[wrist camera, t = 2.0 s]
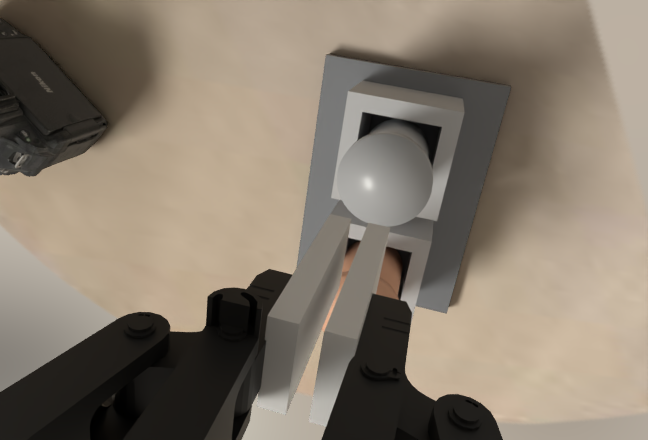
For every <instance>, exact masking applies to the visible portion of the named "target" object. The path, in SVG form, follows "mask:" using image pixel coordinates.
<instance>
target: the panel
mask: <svg viewBox="0 0 648 440" xmlns="http://www.w3.org/2000/svg"><path fill="white" fill-rule="evenodd" d="M510 90H511V86H509V85H504V84H498V83H492V82H486V81H481V80H475V79H469V78H463V77H458V76H452V75H446V74H441V73H435V72H429V71H423V70H418V69H412V68H406V67H400V66H395V65H389V64H383V63H377V62H372V61H366V60H360V59H354V58H349V57H343V56H337V55H332V54H327V55H326V58H325V65H324V73H323V80H322V87H321V95H320V102H319V109H318V116H317V124H316V131H315V138H314V145H313V153H312V160H311V167H310V174H309V182H308V189H307V196H306V204H305V211H304V218H303V225H302V233H301V240H300V247H299V254H298V262H297V267H298V265H299V264H300V262H301V260H302V259H303V257H304V256H305V254H306V252H307V251H308V249H309V248H310V246H311V244H312V243H313V241H314V239H315V238H316V236H317V235H318V233H319V231H320V230H321V228H322V226H323V225H324V223H325V222H326V220H327V218H328V217H329V215H330V214H333V215H337V216H341V217H346V218H350V219H351V225H350V230H349V236H348V241H347V247H346V252H347V250H348V249H349V247H350V246H351V245H352V244H354V243H355V242H357V241H359V240H360V241H361V240H362V237H363V235H364V232H365V230H366V227H367V225H368V223H366V222H364V221H362V220H360V219H358V218H357V217H356V216H354V215H353V214H352V213H351V212H350V211H349V210H348V209H347V207H346V206H345V205H344V203H343V201H342V199H341V197H340V195H339V192H338V187H337V172H338V167H339V165H340V162H341V160H342V158H343V156H344V155H345V153H346V152H347V151H348V149H349V148H350V147H351V146H352V145H353V144H354V143H355V142H356V141H358V140H359V139H361V138H362V137H364V136H366V135H369V133H370V132H371V130H372V129H373V128H374V127H376V126H377V125H378V124H380V123H382V122H384V121H387V120H391V119H402V120H407V121H409V122H412V123H413V124H415V125H416V126H418V127H419V128H420V129H421V130H422V131H423V133H424V134H425V136H426V137H427V140H428V143H429V149H430V154H429V160H430V162H431V166H432V169H433V186H432V192H431V195H430V198H429V200H428V203H427V204H426V206H425V207H424V209H423V210H422V211H421V212H420V213H419V214H418V215H417V216H416V217H415V218H413V219H412V220H410V221H408V222H406V223H403V224H401V225H397V226H390V231H389V236H388V241H387V245H386V247H391V248H395V249H396V250H397V251H398V253H399V255H400V257H401V259H402V264H403V270H402V275H401V280H400V285H399V290H398V298H399V300H402V301H406V302H407V304H408V306H409V308H410V310H411V312H412V317H413V314H414V310H415V306H418V307H422V308H426V309H430V310H434V311H438V312H442V313H446V314H447V310H448V307H449V303H450V300H451V296H452V293H453V289H454V286H455V282H456V279H457V275H458V272H459V268H460V265H461V261H462V258H463V254H464V251H465V247H466V244H467V240H468V237H469V233H470V230H471V226H472V223H473V219H474V216H475V212H476V209H477V205H478V202H479V198H480V195H481V191H482V188H483V184H484V181H485V177H486V174H487V170H488V167H489V163H490V160H491V156H492V153H493V149H494V146H495V142H496V139H497V135H498V132H499V128H500V125H501V121H502V118H503V114H504V111H505V107H506V104H507V100H508V97H509V93H510ZM346 252H345V254H346ZM411 321H412V318H411Z"/></svg>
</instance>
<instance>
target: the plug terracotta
mask: <svg viewBox="0 0 648 440" xmlns="http://www.w3.org/2000/svg"><path fill="white" fill-rule="evenodd" d="M360 242H361V241H360V240H359V241H357V242H355V243H354V244H352V245H351V246H350V247H349V249H348V250H347V252H346V254H345V258H344V264H343V269H342V275H341V280H340V286H339V289H338V291H337V294H336V296H335V298H334V301H333V303H332V306H331V308H330V310H329V313H328V315H327V317H326V320H325V322H324V325H323V327H322V330H323V332H324V331H325V328H326V326H327V323H328V321H329V318H330V316H331V313H332V311H333V308H334V306H335V304H336V301H337V299H338V296H339V294H340V291H341V289H342V286H343V284H344V281H345V279H346V277H347V274H348V272H349V269H350V267H351V264H352V262H353V259H354V257H355V254H356V252H357V249H358V247H359V245H360ZM402 270H403V264H402V259H401V257H400V255H399V253H398V251H397V250H396V249H395V248H391V247H386V250H385V255H384V259H383V264H382V269H381V273H380V278H379V282H378V287H377V292H376V294H377V295H381V296H385V297H390V298H394V299H398V300H399V298H398V290H399V285H400V280H401V275H402Z"/></svg>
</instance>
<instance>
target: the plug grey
mask: <svg viewBox="0 0 648 440" xmlns="http://www.w3.org/2000/svg"><path fill="white" fill-rule="evenodd" d="M429 154H430V149H429V143H428V140H427V137H426V136H425V134H424V133H423V131H422V130H421V129H420V128H419V127H418V126H416V125H415V124H413V123H412V122H409V121H407V120H402V119H391V120H387V121H384V122H382V123H380V124H378V125H377V126H376V127H374V128H373V129H372V130H371V132H370V133H369V135H366V136H364V137H362V138H361V139H359V140H358V141H356V142H355V143H354V144H353V145H352V146H351V147H350V148H349V149H348V151H347V152H346V153H345V155H344V156H343V158H342V160H341V162H340V165H339V167H338V172H337V187H338V192H339V195H340V197H341V199H342V201H343V203H344V205H345V206H346V207H347V209H348V210H349V211H350V212H351V213H352V214H353V215H354V216H356V217H357V218H358V219H360V220H362V221H364V222H366V223H373V224H377V225H381V226H386V227H390V226H397V225H401V224H403V223H406V222H408V221H410V220H412V219H413V218H415V217H416V216H417V215H418V214H419V213H420V212H421V211H422V210H423V209H424V207H425V206H426V204H427V203H428V200H429V198H430V195H431V192H432V186H433V169H432V166H431V162H430V160H429Z"/></svg>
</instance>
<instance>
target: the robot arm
mask: <svg viewBox="0 0 648 440" xmlns="http://www.w3.org/2000/svg"><path fill="white" fill-rule="evenodd" d="M350 225H351V219H350V218H346V217H341V216H337V215H333V214H330V215H329V217H328V218H327V220H326V222H325V223H324V225H323V226H322V228H321V230H320V231H319V233H318V235H317V236H316V238H315V239H314V241H313V243H312V244H311V246H310V248H309V249H308V251H307V252H306V254H305V256H304V257H303V259H302V260H301V262H300V264H299V265H298V267H297V269H296V270H295V272H294V273H293V275H291V274H287V273H283V272H279V271H275V270H271V269H269V270H267V271H265V272H263V273H261V274H259V275H257V276H256V277H255V279H254V280H253V281H252V283H251V284H250V287H248V288H247V289H241V288H223V289H220V290H217V291H214V292H213V293H212V294H210V295H209V296H208V301H207V318H206V326H205V328H204V329H203V331H200V332H170V325H169V323H168V321H167V319H165V318H164V317H162V316H161V315H158V314H155V313H151V312H137V313H132V314H128V315H125V316H123V317H121V318H119V319H117V320H116V321H114V322H112V323H111V324H109V325H108V326H106V327H104V328H103V329H101V330H99V331H98V332H96V333H95V334H93V335H92V336H90V337H88V338H87V339H85V340H84V341H82V342H80V343H79V344H77V345H76V346H74V347H72V348H71V349H69V350H68V351H66V352H64V353H63V354H61V355H60V356H58V357H56V358H54V359H53V360H51V361H50V362H48V363H46V364H45V365H43V366H42V367H40V368H38V369H37V370H35V371H34V372H32V373H31V374H29V375H27V376H26V377H24V378H23V379H21V380H19V381H18V382H16V383H14V384H13V385H11V386H10V387H8V388H6V389H5V390H3V391H2V392H0V440H241V439H242V437H243V435H244V433H245V431H246V428H247V426H248V424H249V421H250V415H251V408H252V404H253V401H254V399H255V398H256V396H257V394H258V401H257V407H260V408H263V409H267V410H271V411H274V412H277V413H281V414H284V415H286V413H287V411H288V409H289V406H290V404H291V401H292V399H293V396H294V394H295V392H296V389H297V387H298V385H299V382H300V380H301V377H302V375H303V373H304V370H305V368H306V365H307V363H308V361H309V358H310V356H311V353H312V351H313V349H314V346H315V344H316V341H317V339H318V337H319V334H320V332H321V329H322V327H323V325H324V322H325V320H326V317H327V315H328V313H329V310H330V308H331V306H332V303H333V301H334V298H335V296H336V294H337V291H338V289H339V286H340V280H341V275H342V269H343V264H344V258H345V252H346V247H347V241H348V236H349V230H350ZM389 231H390V227H386V226H381V225H377V224H373V223H368V225H367V227H366V230H365V232H364V235H363V237H362V240H361V242H360V245H359V247H358V249H357V252H356V254H355V257H354V259H353V262H352V264H351V267H350V269H349V272H348V274H347V277H346V279H345V281H344V284H343V286H342V289H341V291H340V294H339V296H338V299H337V301H336V304H335V306H334V308H333V311H332V313H331V316H330V318H329V321H328V323H327V326H326V328H325V331H324V336H323V342H322V348H321V354H320V359H319V365H318V371H317V377H316V383H315V388H314V394H313V400H312V406H311V412H310V417H309V422H311V423H315V424H318V425H322V426H325V427H326V429H325V431H324V434H323V437H322V440H503V439H502V436H501V434H500V431H499V428H498V425H497V423H496V420H495V419H494V417H493V415H492V414H491V412H490V411H489V410H488V409H487V408H486V407H485V406H483V405H482V404H481V403H479V402H477V401H476V400H474V399H472V398H470V397H466V396H462V395H459V394H448V395H445V396H442V397H440V398H439V399H438V400H437V401H435V400H433V399H431V398H429V397H427V396H425V395H424V394H422V393H421V392H419V391H418V390H417V389H416V388H414V387H413V386H412V385H411V383H410V382H409V380H408V379H407V376H406V374H405V363H406V355H407V348H408V341H409V333H410V325H411V318H412V312H411V310H410V308H409V306H408V304H407V302H406V301H402V300H398V299H394V298H390V297H385V296H381V295H377V294H376V292H377V287H378V282H379V278H380V273H381V269H382V264H383V259H384V255H385V250H386V245H387V241H388V236H389ZM258 392H259V393H258Z"/></svg>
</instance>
